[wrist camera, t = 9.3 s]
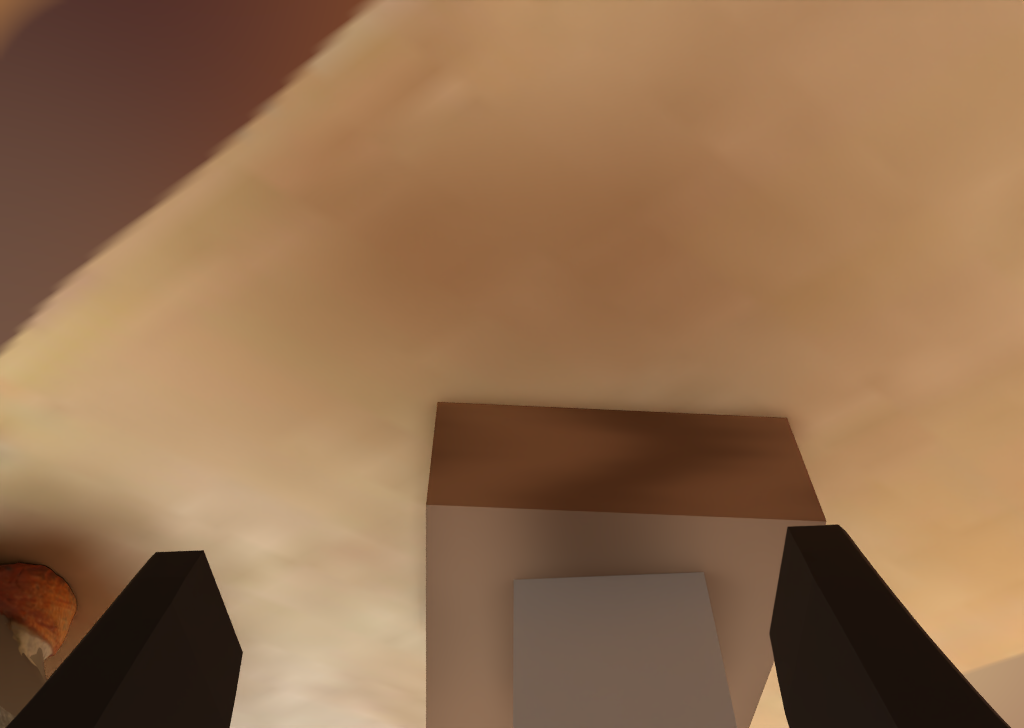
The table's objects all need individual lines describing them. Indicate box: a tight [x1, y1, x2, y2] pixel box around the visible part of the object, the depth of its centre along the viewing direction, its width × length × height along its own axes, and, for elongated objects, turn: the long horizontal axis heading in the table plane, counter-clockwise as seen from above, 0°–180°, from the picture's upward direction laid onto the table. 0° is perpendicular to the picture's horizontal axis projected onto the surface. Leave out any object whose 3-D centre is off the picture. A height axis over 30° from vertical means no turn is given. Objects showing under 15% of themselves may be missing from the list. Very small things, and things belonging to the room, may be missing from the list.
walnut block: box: [426, 402, 826, 728], centre depth 24 cm, size 9×9×4 cm
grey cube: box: [513, 572, 737, 728], centre depth 21 cm, size 4×4×4 cm
